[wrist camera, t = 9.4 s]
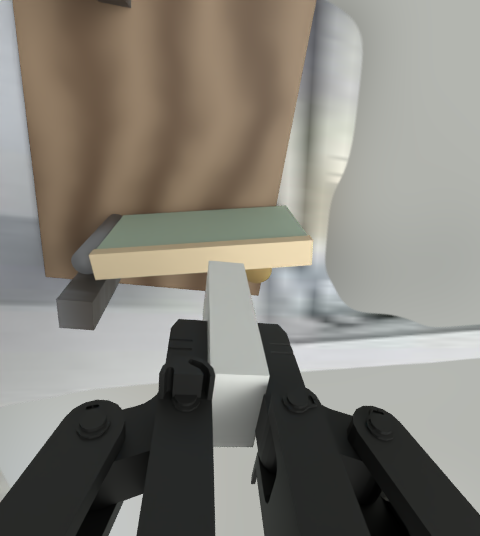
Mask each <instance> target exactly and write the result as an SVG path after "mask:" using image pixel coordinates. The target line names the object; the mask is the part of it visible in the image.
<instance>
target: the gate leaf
mask: <svg viewBox="0 0 480 536" xmlns="http://www.w3.org/2000/svg"><path fill="white" fill-rule="evenodd" d="M312 250H313V239H312V238H311V237H310V235H307V234H306V233H305V231H304V230H303V228H302V227H301V226H300V224H299V223H298V222H297V220H296V219H295V218H294V216H293V215H292V213H291V212H290V211H289V209H288V208H287V207H286V206H271V207H254V208H237V209H221V210H204V211H187V212H171V213H154V214H137V215H123V216H121V215H119V214H112V215H110V216H109V217H108V218H107V219H106V220H105V221H104V222H103V223H102V224H101V225H100V226H99V227H98V228H97V229H96V231H95V232H94V233H93V234H92V235H91V236H90V237H89V238H88V239H87V240H86V241H85V242H84V243H83V244H82V246H81V247H80V248H79V249H78V250H77V251H76V252H75V253H74V254H73V256H72V258H71V263H72V265H73V267H74V268H75V270H77V271H78V272H80V273H82V274H93V273H94V277H95V280H102V279H117V278H131V277H145V276H160V275H174V274H189V273H203V272H208V263H209V261H220V262H231V263H243V264H244V267H245V270H247V269H261V268H276V267H290V266H304V265H312Z"/></svg>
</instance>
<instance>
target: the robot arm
mask: <svg viewBox="0 0 480 536" xmlns="http://www.w3.org/2000/svg"><path fill="white" fill-rule="evenodd" d="M255 436H256V440H257V446H258V453H257V456H256V461H255V464H254V468H253V473H252V480H251V484H255V482H256V478H257V482H258V489H259V497H260V505H261V512H262V520H263V528H264V535H265V536H480V515H479V513H478V512H477V511H476V510H475V509H474V508H473V507H472V505H471V504H470V503H469V502H468V501H467V500H466V498H465V497H464V496H463V495H462V494H461V493H460V491H459V490H458V489H457V488H456V487H455V486H454V484H453V483H452V482H451V481H450V480H449V479H448V477H447V476H446V475H445V474H444V473H443V472H442V470H441V469H440V468H439V467H438V466H437V465H436V464H435V462H434V461H433V460H432V459H431V458H430V457H429V455H428V454H427V453H426V452H425V451H424V450H423V448H422V447H421V446H420V445H419V444H418V443H417V441H416V440H415V439H414V438H413V437H412V436H411V435H410V433H409V432H408V431H407V430H406V429H405V427H404V426H403V425H402V424H401V423H400V422H399V421H398V420H397V419H396V418H395V417H394V416H393V415H392V414H390V413H388V412H386V411H385V410H383V409H380V408H377V407H374V406H362V407H360V408H358V409H356V411H355V412H354V414H353V416H351V415H347V414H345V413H341V412H338V411H335V410H332V409H329V408H327V407H325V406H323V405H321V403H320V401H319V400H318V398H317V396H316V395H315V394H314V393H313V392H311V391H310V390H309V389H307V388H305V385H304V382H303V379H302V376H301V373H300V370H299V368H298V365H297V362H296V359H295V356H294V355H293V350H292V348H291V346H290V342H289V339H288V336H287V333H286V332H285V331H284V330H283V329H282V328H281V327H280V326H279V325H278V324H264V323H257V319H256V315H255V310H254V306H253V302H252V298H251V293H250V289H249V285H248V280H247V276H246V272H245V267H244V264H243V263H231V262H220V261H209V263H208V272H207V281H206V291H205V300H204V309H203V321H200V320H184V319H178V321H177V322H176V323H175V324H174V325H173V326H172V328H171V332H170V339H169V345H168V351H167V358H166V364H165V365H163V367H162V369H161V371H160V373H159V392H158V393H157V395H156V396H155V397H153V398H152V399H151V400H149V401H148V402H146V403H144V404H141V405H138V406H135V407H131V408H127V409H124V410H122V409H121V408H120V407H119V406H118V405H117V404H115V403H113V402H111V401H107V400H95V401H90V402H86V403H84V404H82V405H80V406H78V407H76V408H74V409H73V410H72V411H71V412H70V413H69V414H68V415H67V416H66V417H65V418H64V419H63V421H62V422H61V423H60V425H59V426H58V427H57V429H56V430H55V431H54V432H53V434H52V435H51V436H50V438H49V439H48V440H47V442H46V443H45V444H44V446H43V447H42V448H41V450H40V451H39V452H38V454H37V455H36V456H35V458H34V459H33V460H32V462H31V463H30V464H29V465H28V467H27V468H26V470H25V471H24V472H23V473H22V475H21V476H20V477H19V479H18V480H17V481H16V483H15V484H14V485H13V487H12V488H11V489H10V491H9V492H8V493H7V494H6V496H5V497H4V498H3V500H2V501H1V502H0V536H108V535H109V533H110V531H111V528H112V526H113V524H114V522H115V519H116V517H117V515H118V513H119V510H120V508H121V506H122V503H123V501H124V500H127V499H129V498H132V497H135V496H138V495H140V494H143V498H142V505H141V511H140V517H139V524H138V530H137V536H215V507H214V467H213V466H214V463H213V447H253V445H254V440H255Z"/></svg>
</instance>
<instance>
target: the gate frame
mask: <svg viewBox="0 0 480 536" xmlns="http://www.w3.org/2000/svg"><path fill="white" fill-rule="evenodd" d="M315 5H316V0H13V9H14V17H15V25H16V34H17V42H18V50H19V59H20V67H21V75H22V84H23V92H24V100H25V109H26V117H27V125H28V133H29V142H30V150H31V158H32V167H33V175H34V183H35V192H36V200H37V208H38V217H39V225H40V233H41V242H42V250H43V258H44V267H45V275H46V277H54V278H65V279H72V281H71V282H70V283H69V284H68V286H67V287H66V288H65V289H64V291H63V292H62V293H61V294H60V296H59V297H58V298H57V299H56V301H57V310H58V319H59V328H70V329H84V330H94V329H95V327H96V326H97V324H98V322H99V320H100V318H101V316H102V314H103V312H104V310H105V308H106V307H107V305H108V303H109V301H110V299H111V297H112V295H113V293H114V291H115V289H116V288H117V286H118V284H119V283H122V284H133V285H144V286H155V287H167V288H178V289H189V290H201V291H206V281H207V272H203V273H189V274H174V275H160V276H145V277H131V278H117V279H102V280H95V277H94V273H93V274H82V273H80V272H78V271H77V270H75V268H74V267H73V265H72V263H71V258H72V256H73V254H74V253H75V252H76V251H77V250H78V249H79V248H80V247H81V246H82V244H83V243H84V242H85V241H86V240H87V239H88V238H89V237H90V236H91V235H92V234H93V233H94V232H95V231H96V229H97V228H98V227H99V226H100V225H101V224H102V223H103V222H104V221H105V220H106V219H107V218H108V217H109V216H110V215H112V214H119V215H121V216H123V215H137V214H154V213H171V212H187V211H204V210H221V209H237V208H254V207H271V206H276V203H277V198H278V193H279V188H280V183H281V178H282V173H283V168H284V162H285V157H286V152H287V147H288V142H289V137H290V132H291V127H292V122H293V117H294V112H295V106H296V101H297V96H298V91H299V86H300V81H301V76H302V71H303V66H304V61H305V55H306V50H307V45H308V40H309V35H310V30H311V25H312V20H313V15H314V10H315ZM271 271H272V268H261V269H247V270H245V272H246V276H247V280H248V285H249V289H250V293H251V295H257V296H258V295H259V290H260V285H261V282H264V281H266V280H267V279H268V278H269V276H270V275H271Z"/></svg>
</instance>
